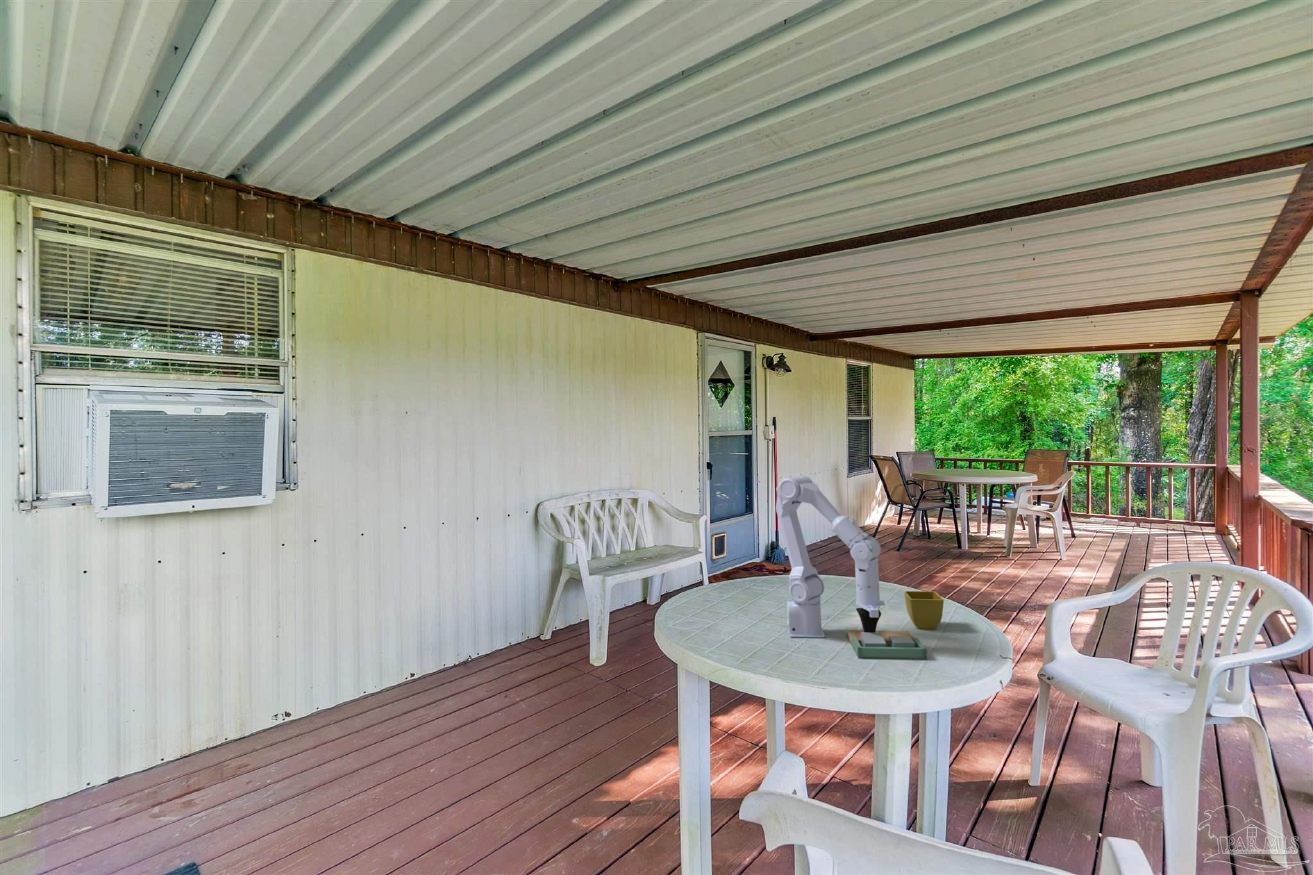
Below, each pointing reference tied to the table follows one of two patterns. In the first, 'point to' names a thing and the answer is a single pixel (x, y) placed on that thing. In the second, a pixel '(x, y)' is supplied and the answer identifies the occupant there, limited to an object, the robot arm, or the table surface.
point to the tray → (890, 651)
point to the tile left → (872, 639)
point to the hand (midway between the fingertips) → (869, 637)
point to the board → (884, 633)
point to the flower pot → (924, 608)
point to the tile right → (901, 641)
